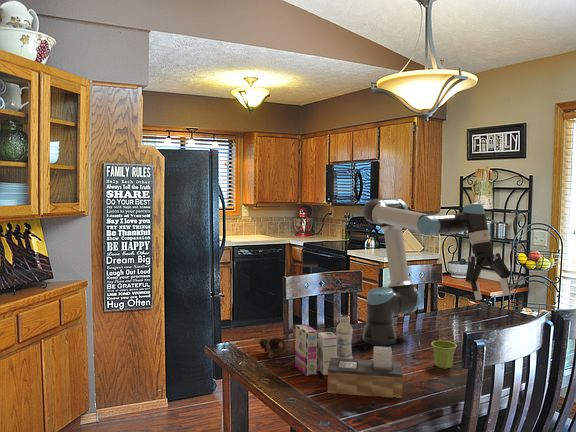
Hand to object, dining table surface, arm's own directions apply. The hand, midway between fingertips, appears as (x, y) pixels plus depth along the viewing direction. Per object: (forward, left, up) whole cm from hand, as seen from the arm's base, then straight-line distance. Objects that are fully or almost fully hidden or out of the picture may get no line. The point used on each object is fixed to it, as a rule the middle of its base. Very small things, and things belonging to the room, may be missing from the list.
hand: (493, 297), depth 191 cm
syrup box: (+14, -62, -28) cm, 69 cm away
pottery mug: (-1, -85, -28) cm, 90 cm away
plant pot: (0, -18, -28) cm, 33 cm away
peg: (+27, -42, -22) cm, 54 cm away
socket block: (+27, -48, -28) cm, 61 cm away
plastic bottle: (+8, -56, -28) cm, 63 cm away
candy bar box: (+14, -70, -28) cm, 76 cm away
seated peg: (+27, -53, -28) cm, 66 cm away
